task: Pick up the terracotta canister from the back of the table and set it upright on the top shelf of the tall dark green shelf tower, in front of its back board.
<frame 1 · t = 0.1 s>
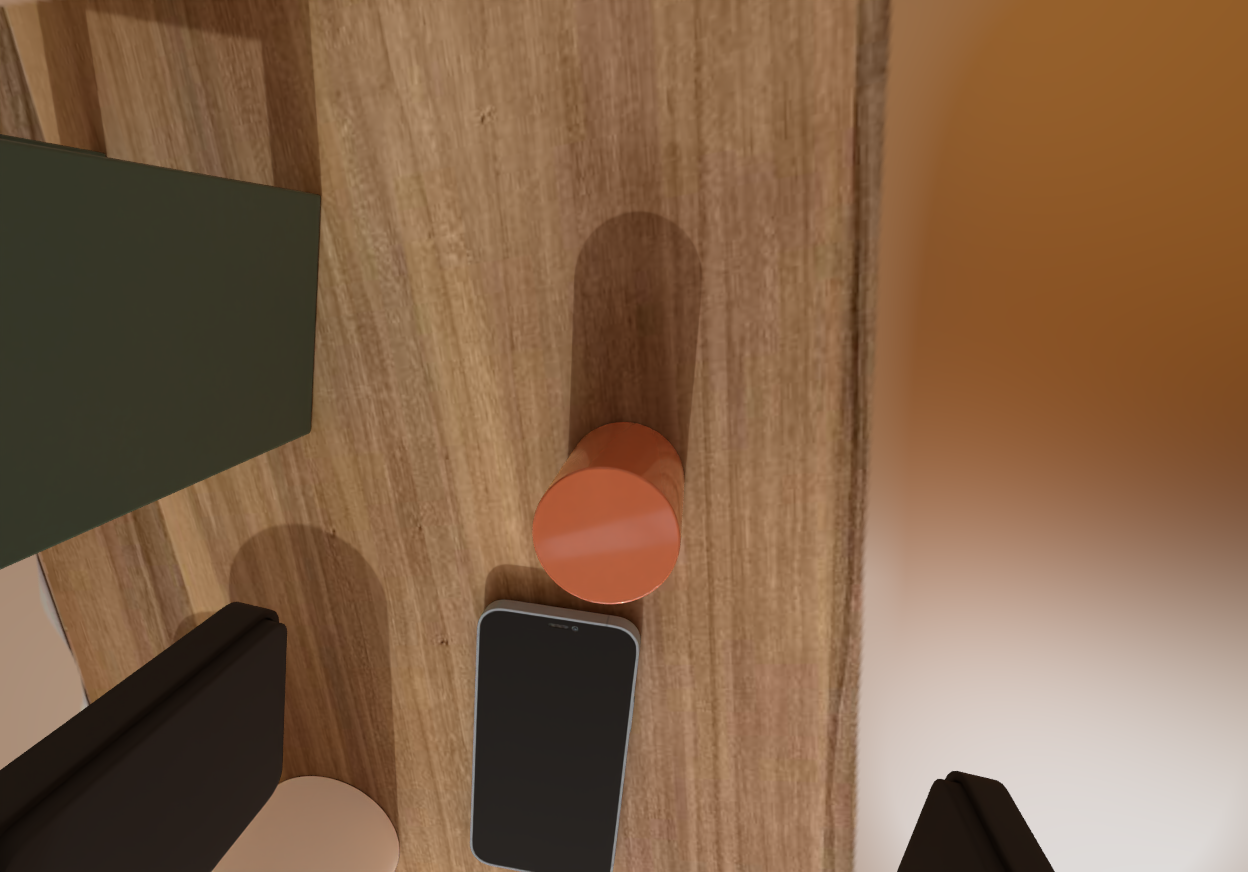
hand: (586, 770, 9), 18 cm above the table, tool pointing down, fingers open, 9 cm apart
mug: (295, 828, 35), on the table
shelf: (204, 297, 27), on the table
canister: (625, 478, 27), on the table
smartphone: (553, 738, 31), on the table
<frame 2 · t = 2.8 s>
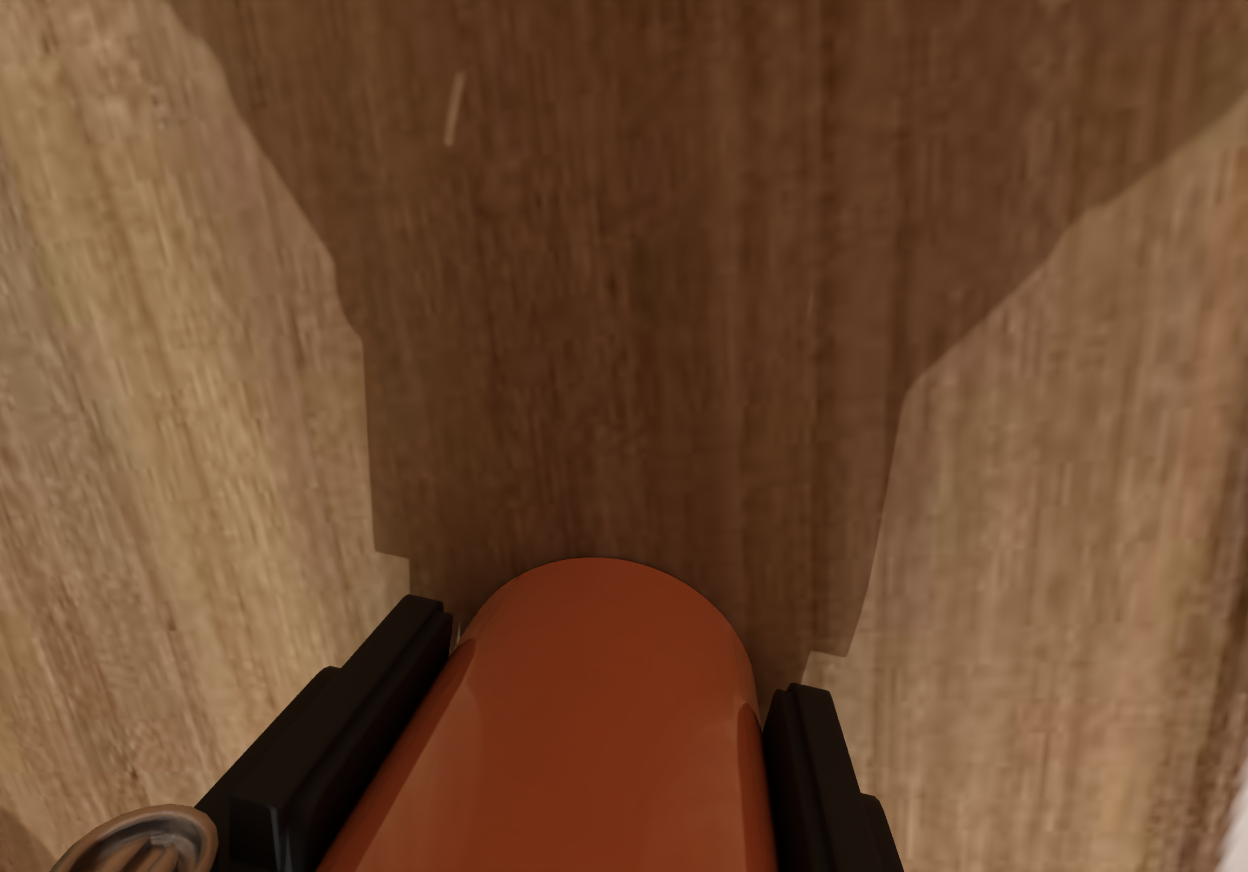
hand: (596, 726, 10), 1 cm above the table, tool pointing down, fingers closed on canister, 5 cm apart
canister: (603, 691, 11), on the table, touching gripper
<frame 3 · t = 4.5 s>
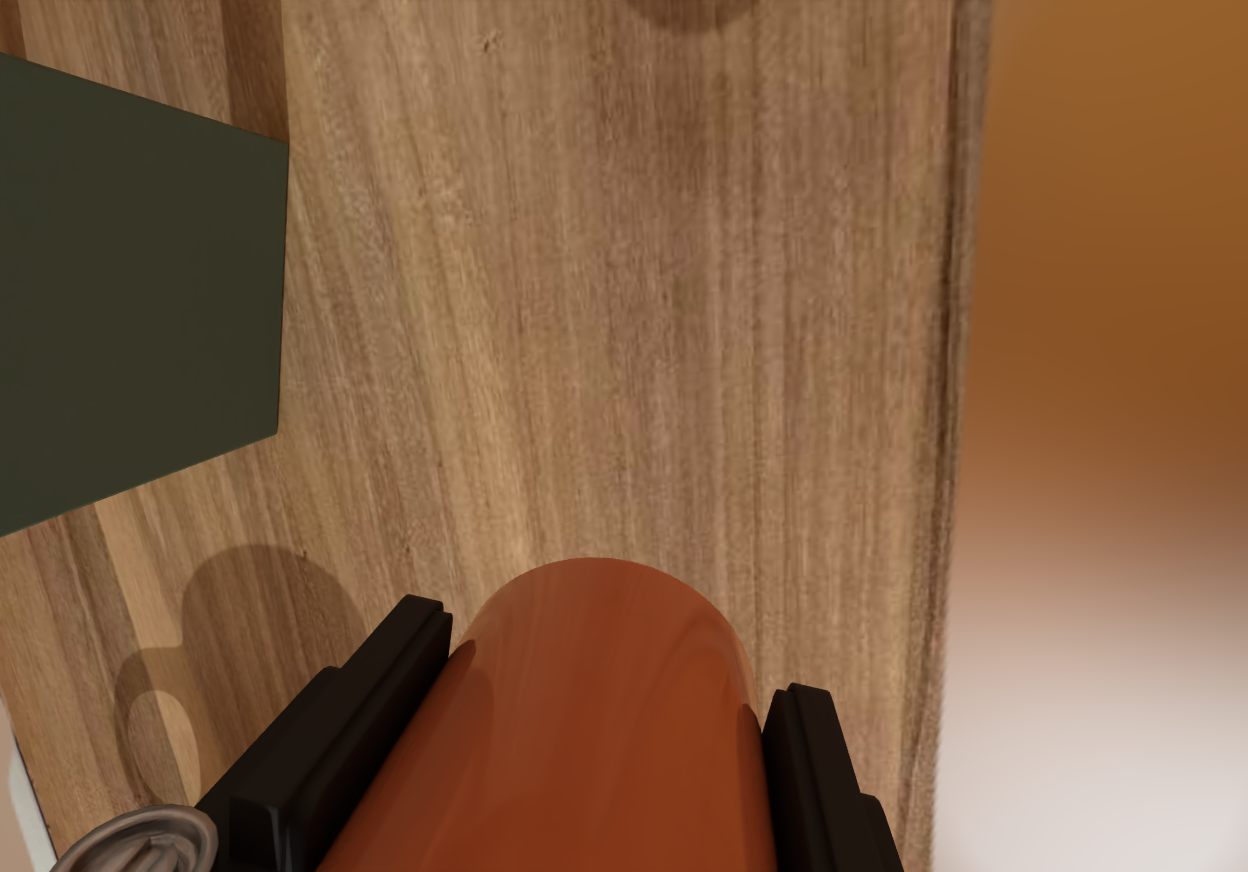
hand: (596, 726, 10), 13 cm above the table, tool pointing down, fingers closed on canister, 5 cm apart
shelf: (149, 270, 22), on the table
canister: (604, 691, 11), point 12 cm above the table, touching gripper
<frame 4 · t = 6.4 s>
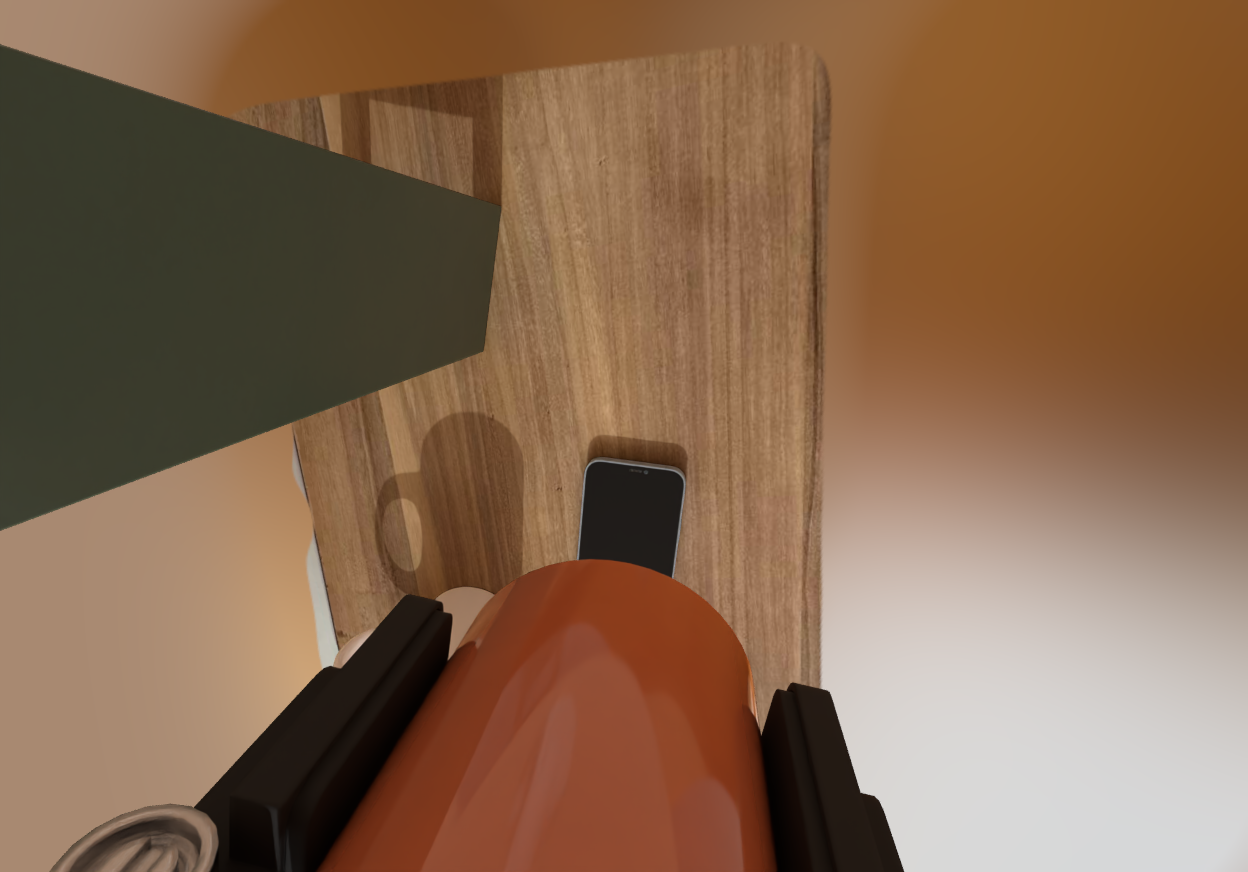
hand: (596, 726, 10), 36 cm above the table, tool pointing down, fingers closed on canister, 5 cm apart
mug: (449, 627, 52), on the table
shelf: (423, 267, 44), on the table
canister: (603, 692, 11), point 35 cm above the table, touching gripper
smartphone: (627, 553, 48), on the table
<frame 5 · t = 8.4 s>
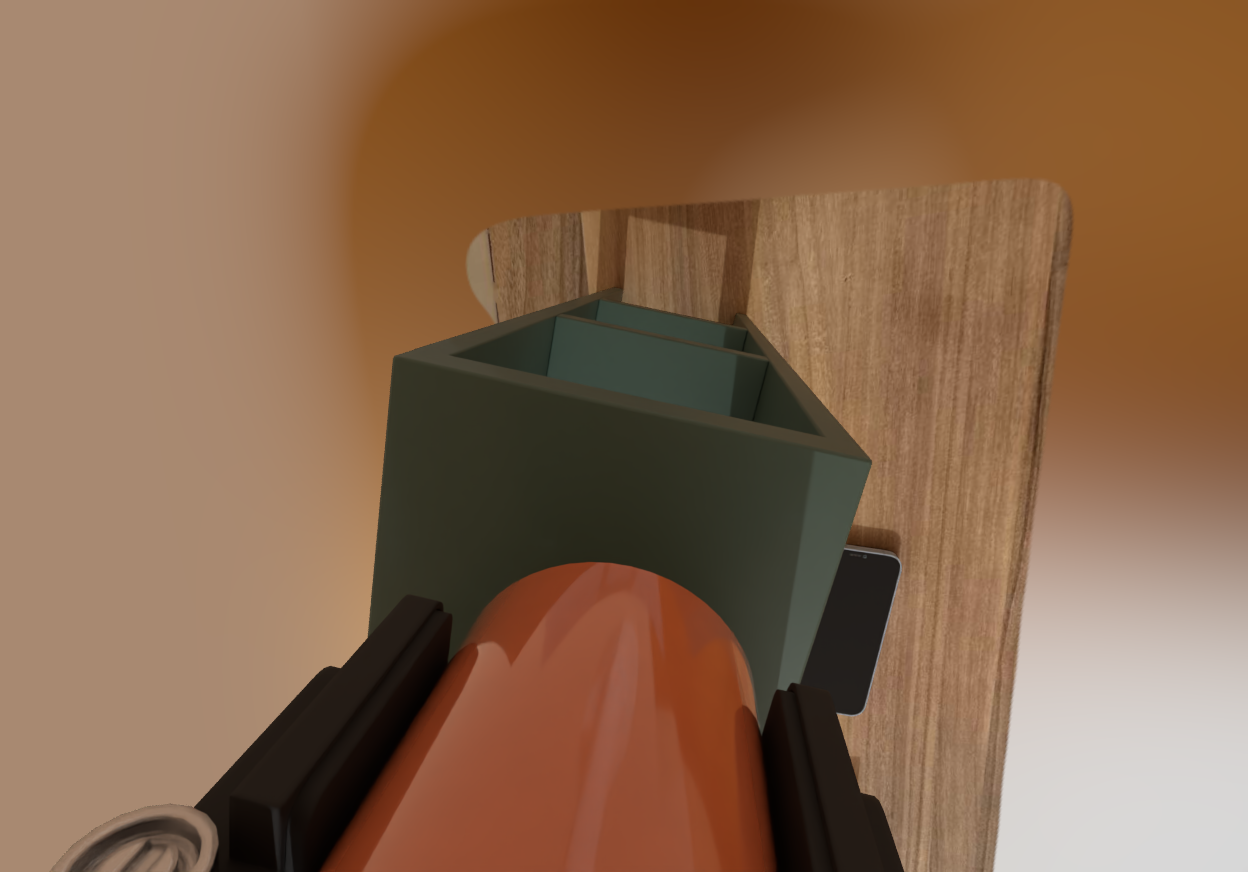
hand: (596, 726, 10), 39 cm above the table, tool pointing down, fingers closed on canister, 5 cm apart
shelf: (665, 367, 48), on the table
canister: (603, 695, 11), point 38 cm above the table, touching gripper
smartphone: (833, 626, 52), on the table
when the fingers open (36 cm above the table, at t = 9.8 s): canister stays where it is, resting on shelf.
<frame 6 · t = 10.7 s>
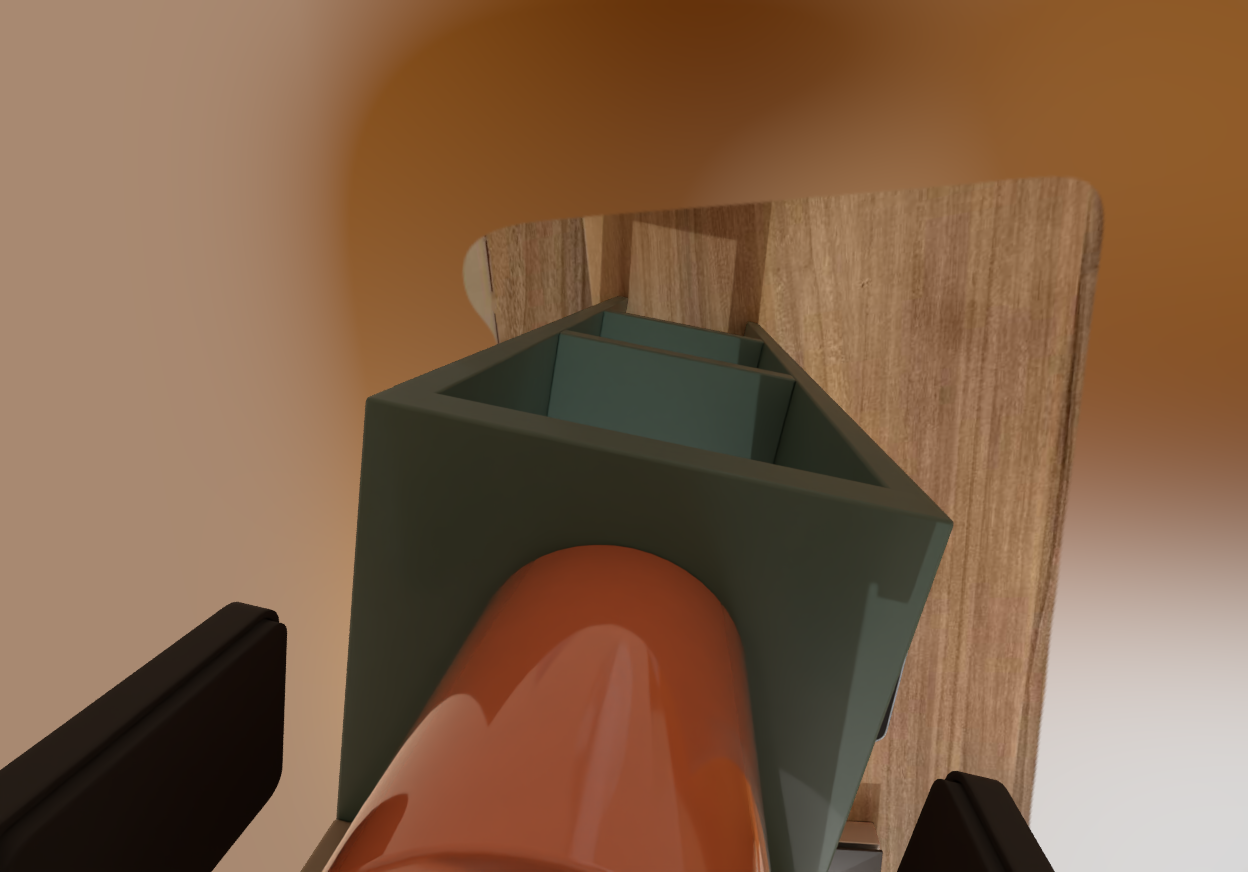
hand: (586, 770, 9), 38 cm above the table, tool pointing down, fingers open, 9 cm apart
shelf: (672, 379, 45), on the table
canister: (608, 668, 12), point 35 cm above the table, touching shelf
smartphone: (852, 648, 49), on the table
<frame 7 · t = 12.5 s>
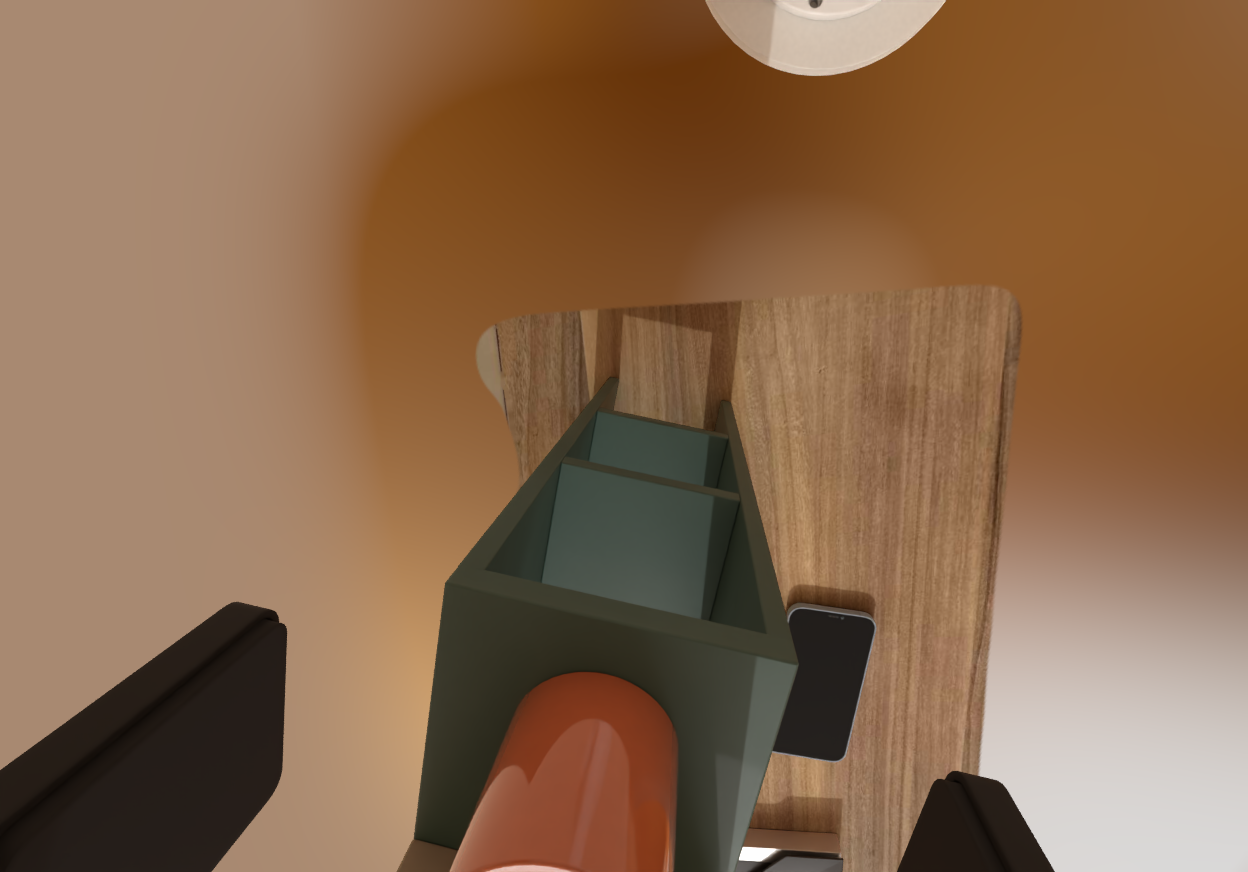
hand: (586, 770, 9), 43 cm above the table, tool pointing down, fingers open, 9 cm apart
shelf: (657, 447, 52), on the table
canister: (593, 744, 18), point 35 cm above the table, touching shelf
smartphone: (815, 679, 56), on the table
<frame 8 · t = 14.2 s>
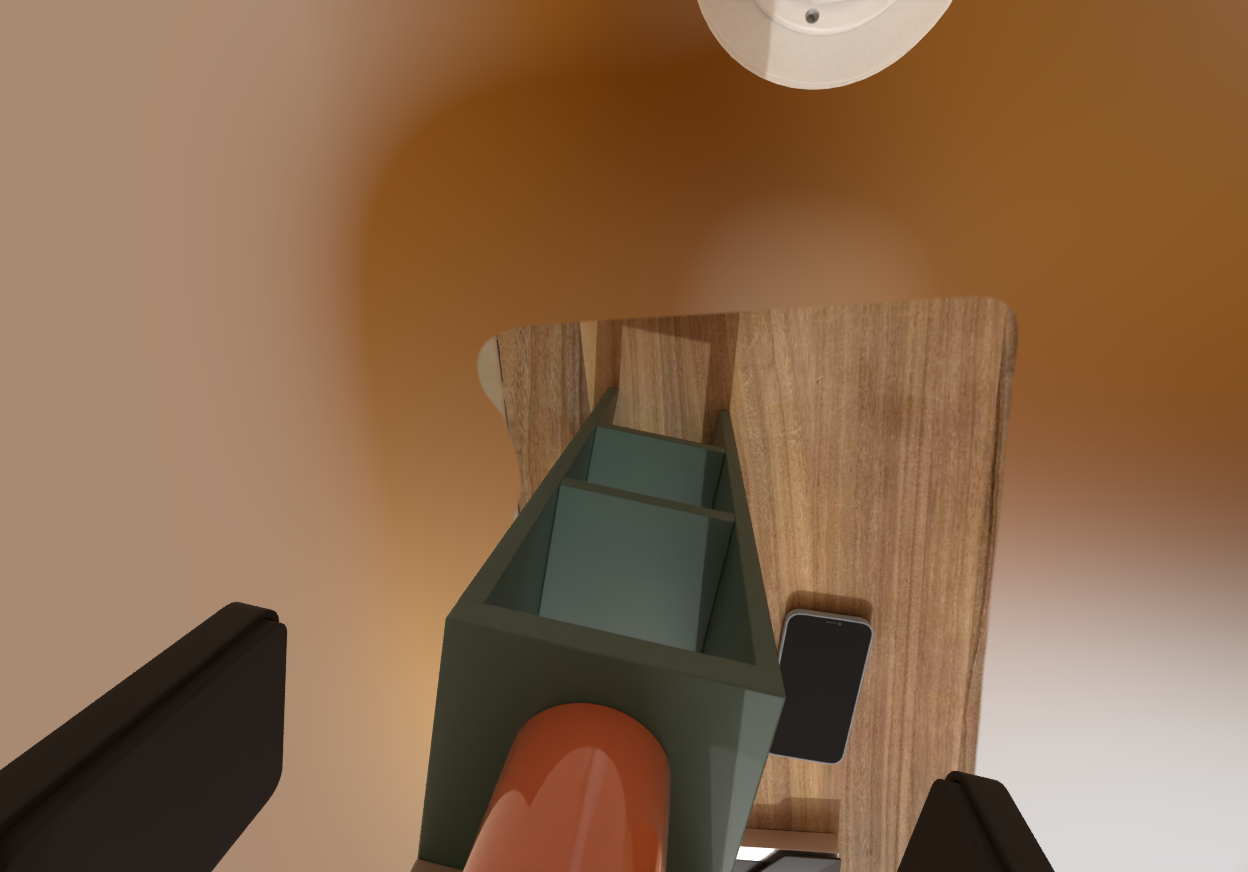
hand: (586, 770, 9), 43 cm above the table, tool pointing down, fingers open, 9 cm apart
shelf: (657, 456, 53), on the table
canister: (589, 771, 19), point 35 cm above the table, touching shelf
smartphone: (813, 683, 57), on the table
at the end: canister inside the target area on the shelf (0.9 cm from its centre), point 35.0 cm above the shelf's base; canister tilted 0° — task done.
